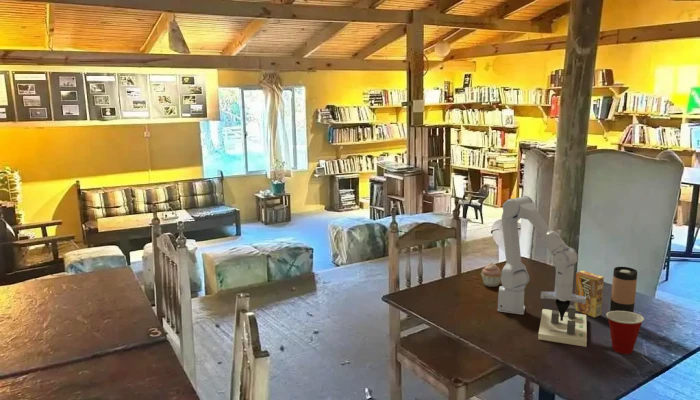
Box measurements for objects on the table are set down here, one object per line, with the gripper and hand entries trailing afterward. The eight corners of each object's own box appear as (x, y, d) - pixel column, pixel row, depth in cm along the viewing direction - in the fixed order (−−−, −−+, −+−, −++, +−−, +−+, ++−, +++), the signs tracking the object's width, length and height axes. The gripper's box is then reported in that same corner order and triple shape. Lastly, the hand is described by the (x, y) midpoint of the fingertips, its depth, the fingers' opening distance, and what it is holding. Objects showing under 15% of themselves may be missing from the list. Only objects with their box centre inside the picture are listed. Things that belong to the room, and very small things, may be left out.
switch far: (567, 317, 191) (568, 307, 190) (567, 313, 193) (568, 304, 193) (574, 318, 190) (575, 308, 189) (574, 314, 193) (575, 305, 192)
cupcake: (479, 280, 235) (480, 258, 233) (501, 281, 233) (502, 259, 231) (480, 287, 226) (481, 265, 224) (503, 289, 224) (504, 266, 222)
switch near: (566, 333, 178) (567, 323, 177) (566, 330, 181) (567, 320, 180) (574, 334, 177) (575, 324, 177) (574, 331, 180) (575, 321, 179)
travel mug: (613, 316, 196) (618, 265, 192) (635, 322, 191) (640, 269, 187) (605, 322, 191) (610, 270, 187) (628, 329, 186) (633, 275, 182)
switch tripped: (551, 322, 187) (551, 313, 186) (551, 319, 189) (552, 310, 188) (558, 323, 186) (559, 314, 185) (558, 320, 188) (559, 311, 188)
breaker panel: (538, 339, 180) (538, 333, 179) (542, 313, 200) (542, 308, 199) (586, 346, 174) (586, 341, 174) (585, 319, 194) (586, 314, 193)
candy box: (601, 315, 197) (604, 276, 194) (594, 318, 195) (598, 278, 192) (579, 307, 205) (582, 269, 201) (573, 310, 202) (576, 272, 199)
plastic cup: (622, 339, 178) (625, 306, 176) (648, 355, 168) (652, 319, 166) (595, 344, 175) (598, 310, 173) (620, 360, 165) (623, 324, 163)
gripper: (541, 284, 183) (538, 321, 186) (586, 289, 177) (584, 327, 180) (542, 277, 189) (540, 313, 192) (586, 282, 183) (583, 319, 186)
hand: (561, 319), depth 186 cm, fingers closed
